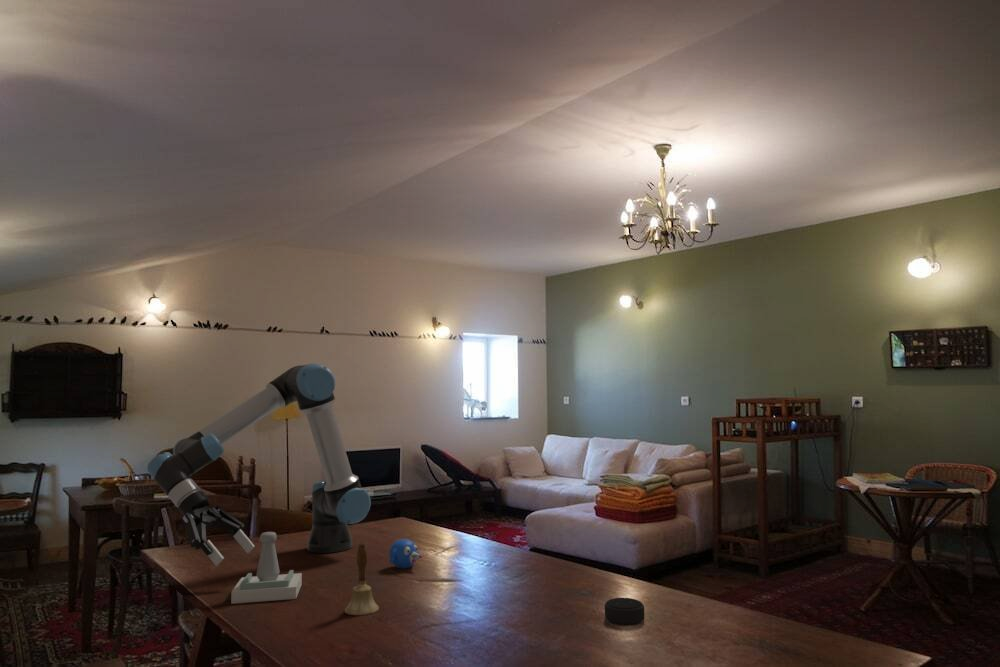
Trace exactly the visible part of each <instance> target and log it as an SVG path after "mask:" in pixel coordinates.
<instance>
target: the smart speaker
mask: <svg viewBox="0 0 1000 667" xmlns="http://www.w3.org/2000/svg"><path fill="white" fill-rule="evenodd" d="M645 617H646V616H645V605H644V604H643V602H641V601H640V600H639V599H634V598H632V597H631V598H630V597H615V598H610V599H608V600H607V601H606V602H605V603H604V618H605V620H606V621H607V622H609V623H611V624H613V625H618V626H626V627H627V626H636V625H638V624H642V622H643V621H644V620H645Z"/></svg>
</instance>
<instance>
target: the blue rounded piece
mask: <svg viewBox="0 0 1000 667" xmlns="http://www.w3.org/2000/svg"><path fill="white" fill-rule="evenodd" d="M389 548H390V549H389V552H388V554H389V563H391V564H392V565H393V566H395V567H396V568H398V569H407V568H410V567H412V566H413V565H414V564H415V563H416V562H417V561H418V560H419V559H422V558H423V555H422V554H420V553H419V548H418V545H416V543H415V542H414V541H412V540H411V539H407V538H402V539H398V540H396V541H394V543H392V545H391V546H390V547H389Z"/></svg>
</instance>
